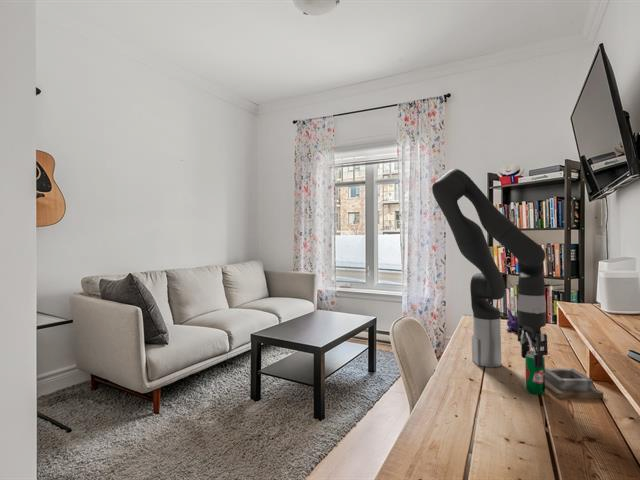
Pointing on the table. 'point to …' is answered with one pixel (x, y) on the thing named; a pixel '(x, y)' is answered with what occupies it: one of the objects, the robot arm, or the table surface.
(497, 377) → the table surface
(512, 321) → the creature
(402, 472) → the table surface
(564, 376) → the grey hollow square frame
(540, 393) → the soda can
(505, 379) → the table surface
